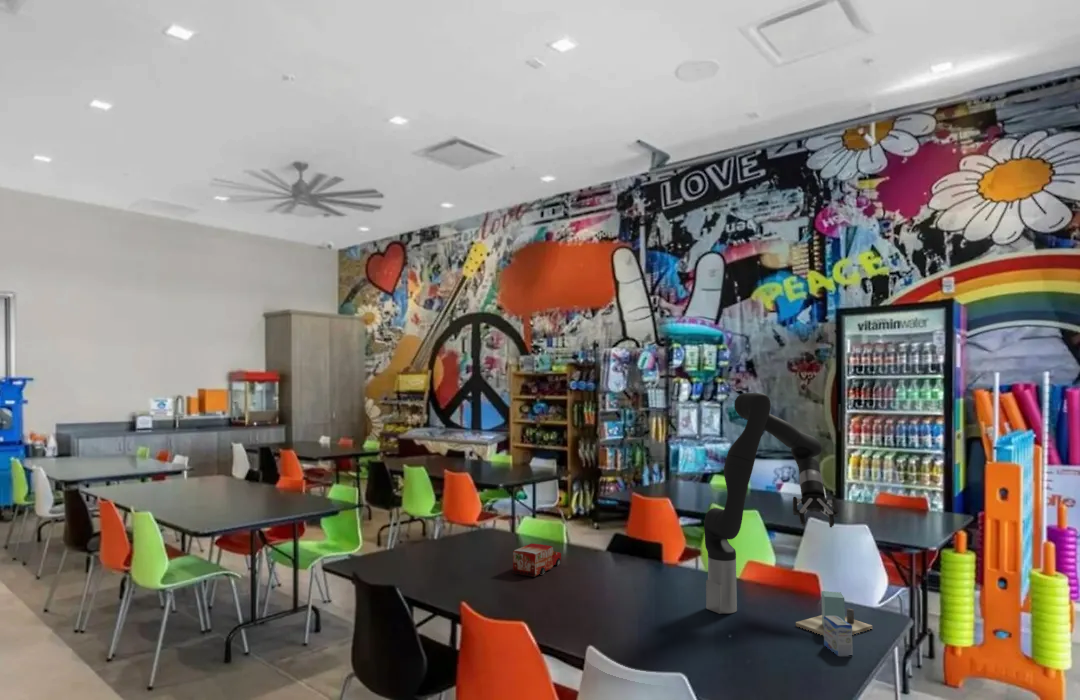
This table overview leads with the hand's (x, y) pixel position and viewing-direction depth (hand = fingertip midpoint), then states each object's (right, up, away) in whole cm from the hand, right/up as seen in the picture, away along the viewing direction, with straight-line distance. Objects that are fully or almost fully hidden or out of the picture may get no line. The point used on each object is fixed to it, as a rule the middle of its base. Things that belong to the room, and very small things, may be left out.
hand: (817, 525), depth 222 cm
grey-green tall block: (-3, -27, -18) cm, 32 cm away
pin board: (-1, -28, -15) cm, 32 cm away
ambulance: (-93, -32, +50) cm, 111 cm away
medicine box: (-8, -27, -33) cm, 44 cm away
